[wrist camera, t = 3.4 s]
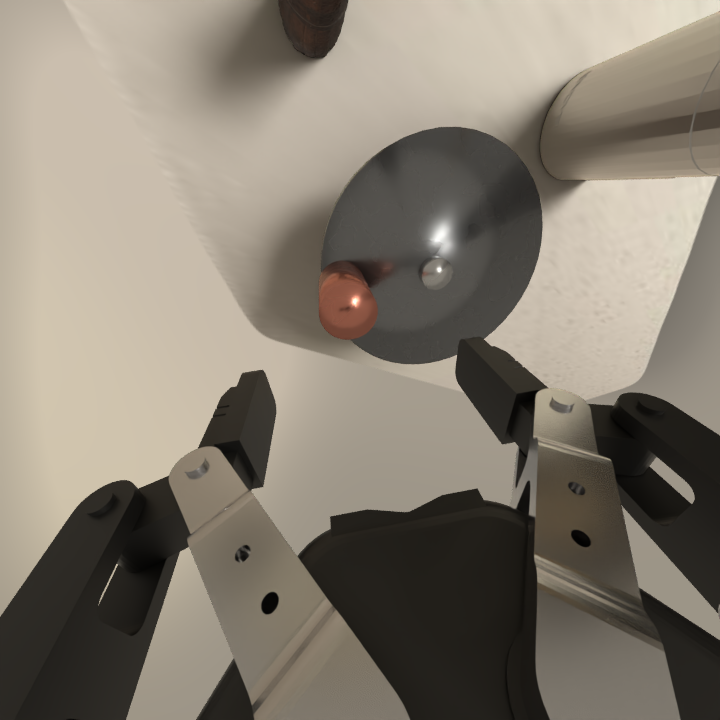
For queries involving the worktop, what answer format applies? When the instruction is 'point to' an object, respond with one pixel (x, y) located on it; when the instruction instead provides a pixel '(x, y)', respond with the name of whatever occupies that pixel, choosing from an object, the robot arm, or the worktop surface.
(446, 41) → the worktop surface
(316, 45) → the butter churn
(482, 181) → the grey disc with knob
